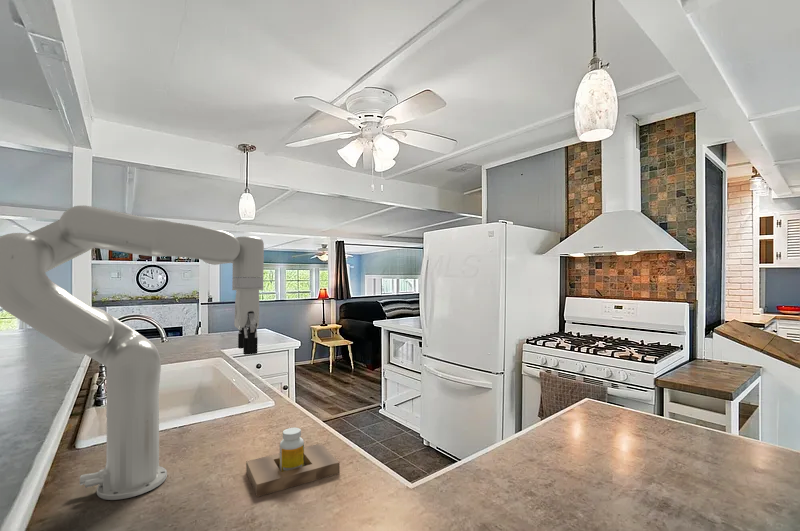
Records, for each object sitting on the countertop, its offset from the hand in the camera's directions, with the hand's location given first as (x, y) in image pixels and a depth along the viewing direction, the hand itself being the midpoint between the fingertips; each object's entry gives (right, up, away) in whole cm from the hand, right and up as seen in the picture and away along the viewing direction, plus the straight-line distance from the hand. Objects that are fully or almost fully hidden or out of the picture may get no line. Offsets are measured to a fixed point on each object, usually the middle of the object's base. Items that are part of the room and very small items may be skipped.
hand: (247, 350), depth 102 cm
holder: (+15, -25, -11) cm, 32 cm away
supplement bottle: (+15, -26, -12) cm, 32 cm away
